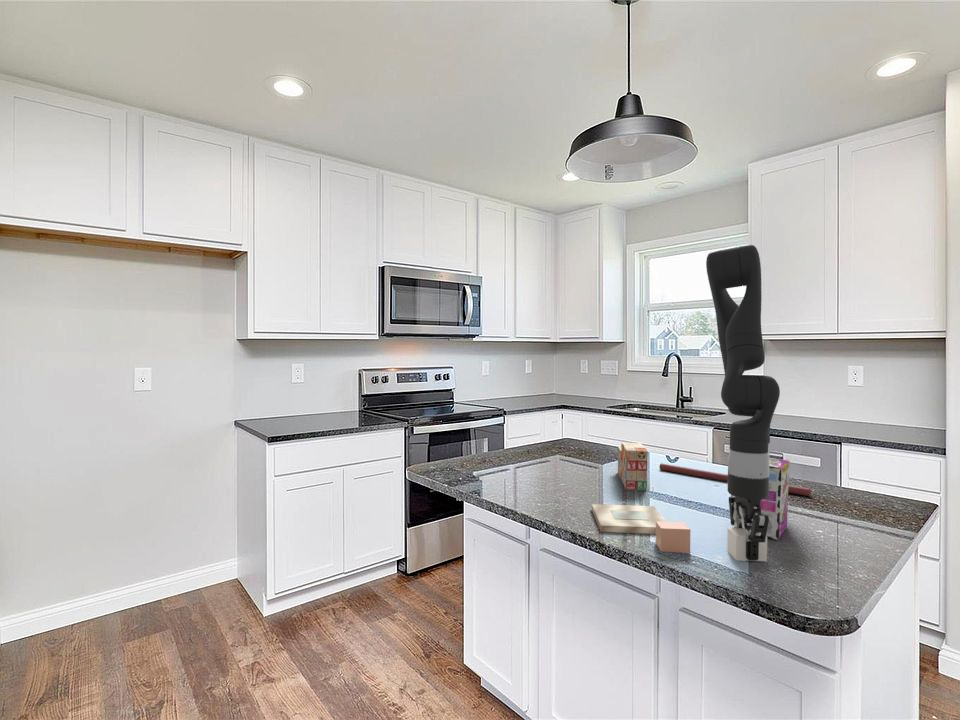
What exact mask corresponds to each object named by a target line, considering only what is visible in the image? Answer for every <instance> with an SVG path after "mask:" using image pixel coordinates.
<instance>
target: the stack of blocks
mask: <svg viewBox="0 0 960 720" xmlns="http://www.w3.org/2000/svg"><path fill="white" fill-rule="evenodd" d="M648 453H649V451H648V450H647V448H646V447H645V446H644V445H643V443H641V442H621V444H620V445H619V446H618V445H617V474H618V476H619V478H620V480H621V482H622V484H624V485H623V486H624V489H625V490H626V491H627V490H628V491H644V490H645V492H646V491H647V490H648V488H647V487H648V480H647V479H648V456H649V455H648Z"/></svg>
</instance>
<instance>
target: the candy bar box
mask: <svg viewBox="0 0 960 720" xmlns="http://www.w3.org/2000/svg"><path fill="white" fill-rule="evenodd" d="M789 479H790V460H787V459H780V458H774V457H773V458H772V457H769V496H768V497H767V498H766V499H762V500H761V501H760V504H761V510H762V515H768V517H769V522H768V528H767V533H766V536H767V539H769V540H775V541H779V540H780V539H781V538H782V536H783V534H784V532H785V531H786V530H787V528H788V513H789V511H788V509H789V508H788V506H789V493H788V486H789V485H790V484H789V483H790V482H789V481H790V480H789Z"/></svg>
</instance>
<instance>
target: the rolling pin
mask: <svg viewBox="0 0 960 720" xmlns="http://www.w3.org/2000/svg"><path fill="white" fill-rule="evenodd" d="M659 470H660V471H665V472H670V473H677V474H683V475H687V476H693V477H698V478H704V479H710V480H715V481H721V482H727V483H728V473H720V472H714V471H709V470H702V469H698V468H691V467H685V466H679V465H673V464H666V463H660V464H659ZM788 494H793V495H794V494H795V495H800V496H805V497H810V496H811V495H812V489H811V488H809V487H802V486H797V485H791V484H789V486H788Z"/></svg>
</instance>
